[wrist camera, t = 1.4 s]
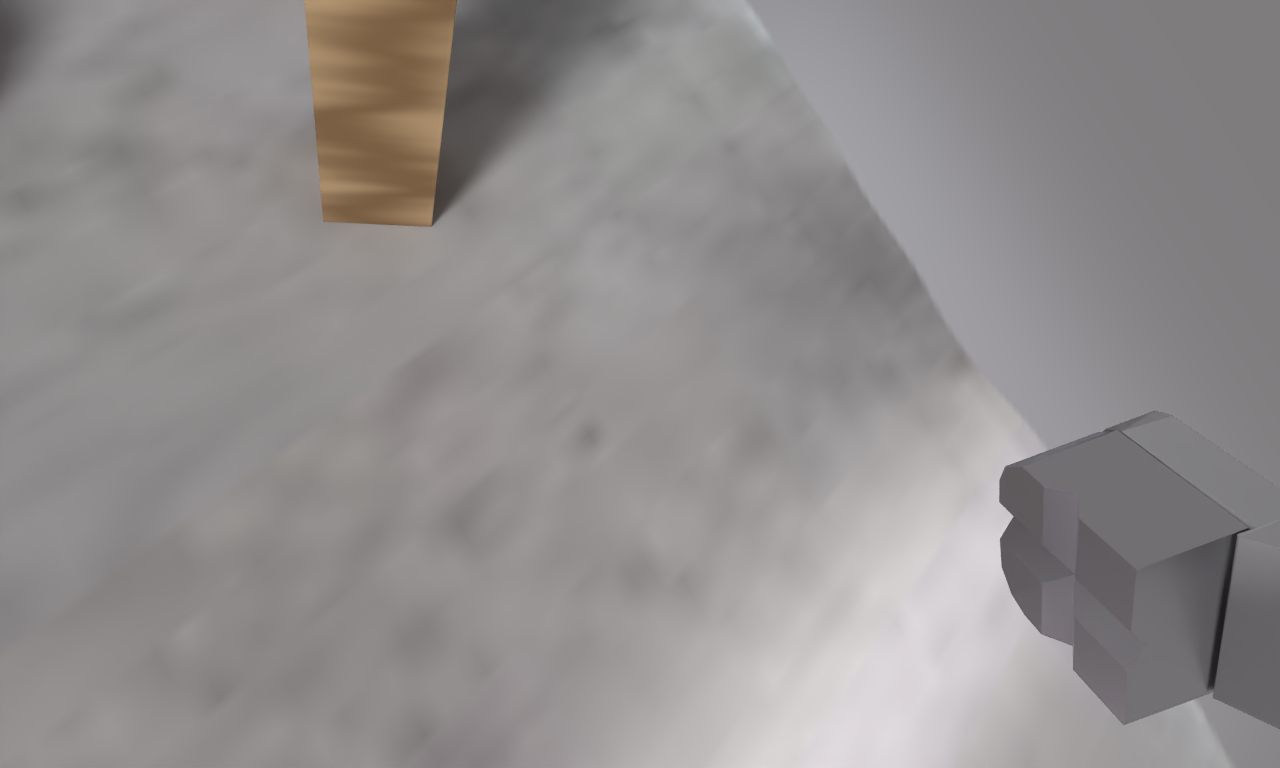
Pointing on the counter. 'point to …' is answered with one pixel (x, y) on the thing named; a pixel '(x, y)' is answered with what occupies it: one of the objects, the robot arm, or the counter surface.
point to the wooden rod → (379, 105)
